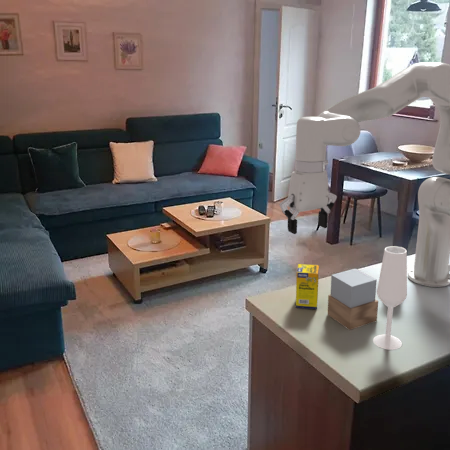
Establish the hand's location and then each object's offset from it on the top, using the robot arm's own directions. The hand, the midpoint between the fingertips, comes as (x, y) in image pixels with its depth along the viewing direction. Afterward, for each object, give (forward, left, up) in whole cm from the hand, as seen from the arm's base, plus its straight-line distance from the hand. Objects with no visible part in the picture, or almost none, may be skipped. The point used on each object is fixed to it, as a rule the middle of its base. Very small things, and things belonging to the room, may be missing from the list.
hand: (307, 229), depth 131 cm
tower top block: (-6, +12, -16) cm, 21 cm away
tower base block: (-6, +12, -22) cm, 26 cm away
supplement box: (0, 0, -23) cm, 23 cm away
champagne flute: (-6, +25, -23) cm, 34 cm away
